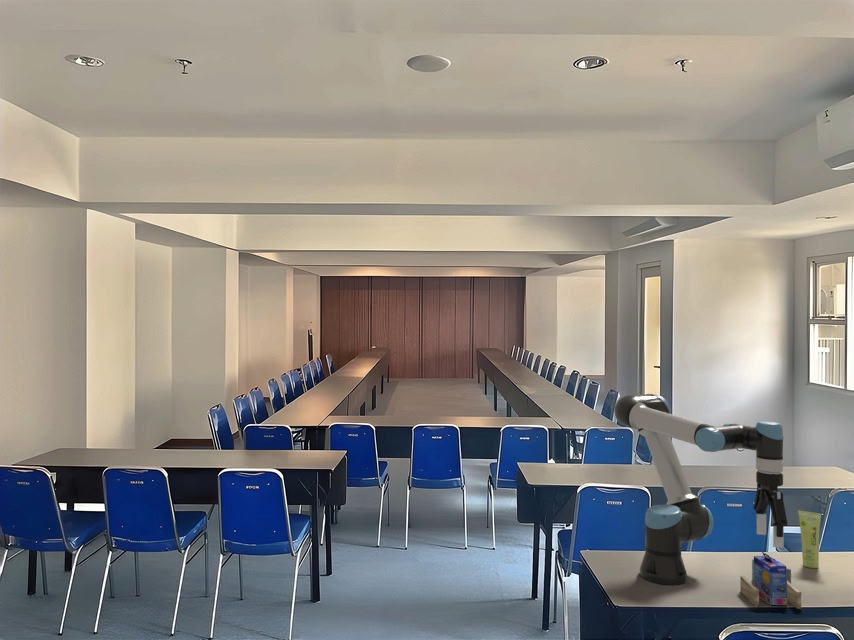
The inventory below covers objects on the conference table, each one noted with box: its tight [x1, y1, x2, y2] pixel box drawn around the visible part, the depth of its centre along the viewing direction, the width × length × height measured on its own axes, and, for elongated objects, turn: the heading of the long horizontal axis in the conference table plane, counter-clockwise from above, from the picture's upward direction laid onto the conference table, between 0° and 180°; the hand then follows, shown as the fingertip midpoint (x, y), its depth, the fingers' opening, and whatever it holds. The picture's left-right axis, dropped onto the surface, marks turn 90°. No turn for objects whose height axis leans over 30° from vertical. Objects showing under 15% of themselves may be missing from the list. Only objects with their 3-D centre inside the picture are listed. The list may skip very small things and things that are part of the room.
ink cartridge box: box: [753, 551, 789, 606], centre depth 206 cm, size 10×6×14 cm, turn 4°
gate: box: [751, 558, 792, 584], centre depth 217 cm, size 13×1×8 cm, turn 29°
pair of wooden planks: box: [739, 575, 802, 610], centre depth 206 cm, size 13×12×5 cm
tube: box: [797, 509, 822, 569], centre depth 238 cm, size 6×5×20 cm
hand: (769, 540), depth 206 cm, fingers open, 12 cm apart
